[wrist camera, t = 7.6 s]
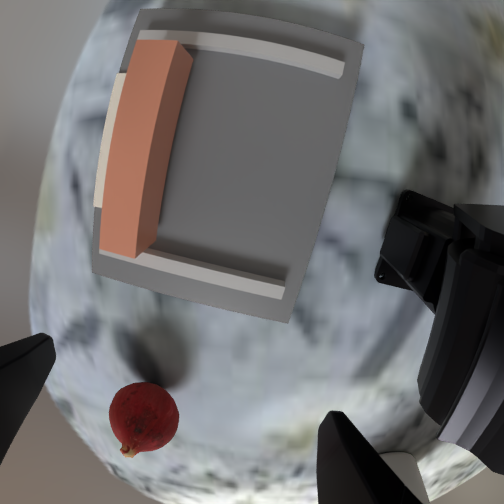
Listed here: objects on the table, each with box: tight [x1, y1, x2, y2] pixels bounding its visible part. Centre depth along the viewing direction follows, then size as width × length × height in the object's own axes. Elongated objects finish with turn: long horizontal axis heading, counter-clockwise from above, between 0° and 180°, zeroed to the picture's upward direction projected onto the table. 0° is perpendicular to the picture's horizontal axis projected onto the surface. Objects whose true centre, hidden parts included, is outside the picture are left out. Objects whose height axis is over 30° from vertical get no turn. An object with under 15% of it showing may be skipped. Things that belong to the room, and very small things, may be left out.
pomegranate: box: [109, 382, 179, 458], centre depth 20 cm, size 6×6×8 cm
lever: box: [99, 40, 193, 259], centre depth 13 cm, size 2×10×3 cm, turn 167°
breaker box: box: [92, 8, 364, 323], centre depth 15 cm, size 13×17×3 cm
